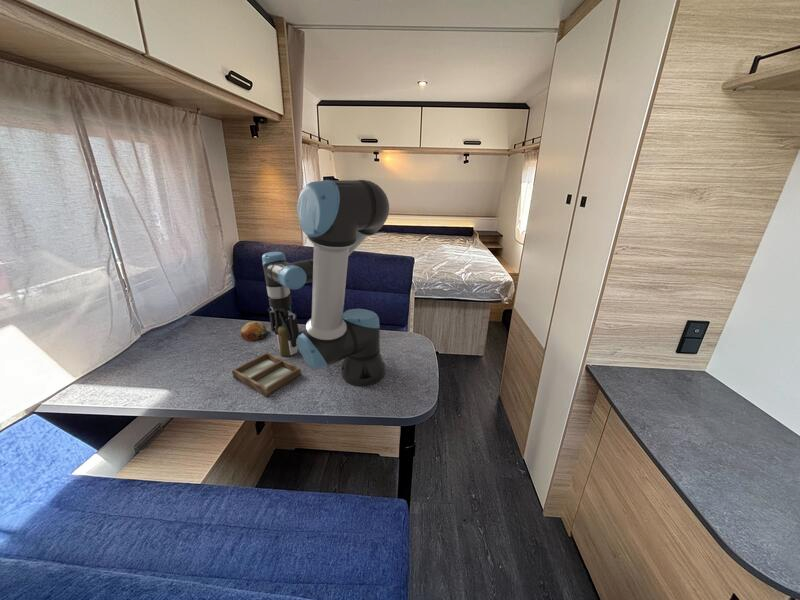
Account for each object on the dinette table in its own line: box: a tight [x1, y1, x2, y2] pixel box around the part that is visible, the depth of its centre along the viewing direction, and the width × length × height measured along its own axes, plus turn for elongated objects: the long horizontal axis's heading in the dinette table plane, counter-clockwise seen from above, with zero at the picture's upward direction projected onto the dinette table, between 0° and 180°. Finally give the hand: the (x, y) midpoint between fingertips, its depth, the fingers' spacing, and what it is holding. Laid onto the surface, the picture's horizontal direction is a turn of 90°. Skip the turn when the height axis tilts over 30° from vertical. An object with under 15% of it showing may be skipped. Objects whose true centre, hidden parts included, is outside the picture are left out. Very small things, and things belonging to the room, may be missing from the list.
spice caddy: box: [231, 351, 302, 398], centre depth 107 cm, size 18×14×3 cm
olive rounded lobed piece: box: [278, 325, 291, 357], centre depth 119 cm, size 6×6×11 cm
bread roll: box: [240, 321, 268, 342], centre depth 134 cm, size 10×10×8 cm
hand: (288, 350), depth 121 cm, fingers closed on olive rounded lobed piece, 6 cm apart
